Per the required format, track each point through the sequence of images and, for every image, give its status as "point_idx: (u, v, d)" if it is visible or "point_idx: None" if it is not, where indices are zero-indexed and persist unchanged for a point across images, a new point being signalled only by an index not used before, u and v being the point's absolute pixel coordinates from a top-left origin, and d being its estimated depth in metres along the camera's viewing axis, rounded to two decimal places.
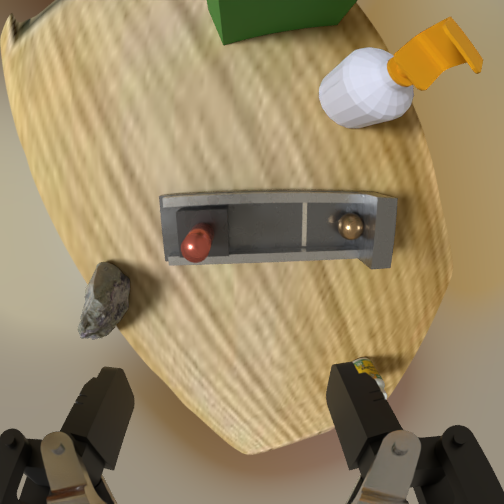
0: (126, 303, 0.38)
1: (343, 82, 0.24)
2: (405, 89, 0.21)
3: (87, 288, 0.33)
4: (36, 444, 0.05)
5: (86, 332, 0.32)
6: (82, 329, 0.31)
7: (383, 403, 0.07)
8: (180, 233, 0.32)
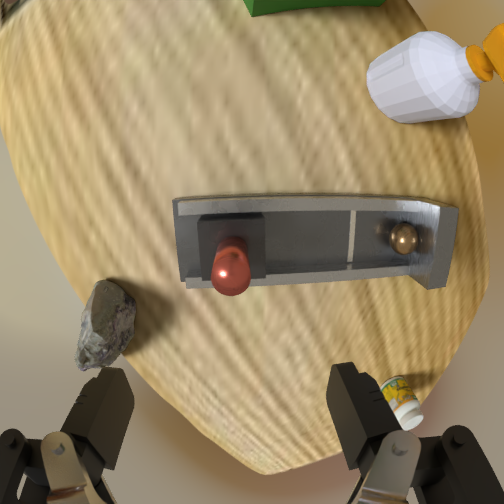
0: (131, 329, 0.31)
1: (410, 66, 0.16)
2: (477, 84, 0.14)
3: (83, 315, 0.26)
4: (36, 444, 0.05)
5: (85, 367, 0.25)
6: (80, 365, 0.24)
7: (383, 403, 0.07)
8: (203, 250, 0.25)
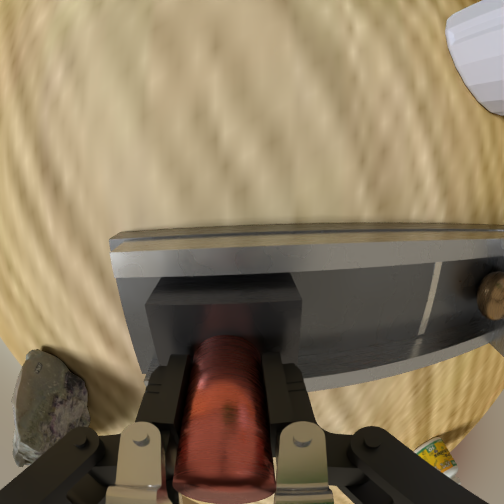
0: (85, 416, 0.17)
1: None
2: None
3: (12, 404, 0.12)
4: (108, 440, 0.06)
5: None
6: None
7: (302, 394, 0.08)
8: (165, 357, 0.11)
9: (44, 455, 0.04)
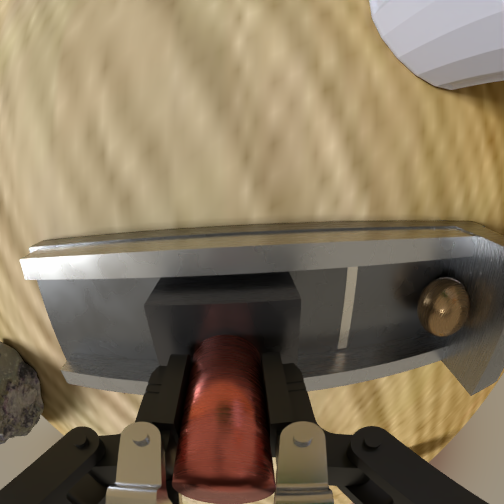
0: (38, 403, 0.17)
1: None
2: None
3: None
4: (108, 440, 0.06)
5: None
6: None
7: (303, 394, 0.08)
8: (165, 357, 0.11)
9: (44, 455, 0.04)
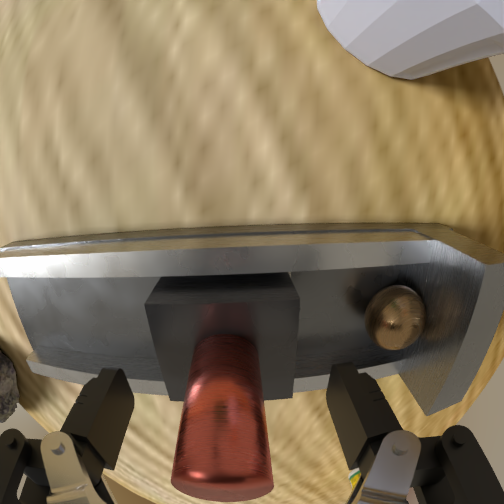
0: (14, 392, 0.17)
1: None
2: None
3: None
4: (36, 443, 0.05)
5: None
6: None
7: (383, 403, 0.07)
8: (164, 356, 0.11)
9: None
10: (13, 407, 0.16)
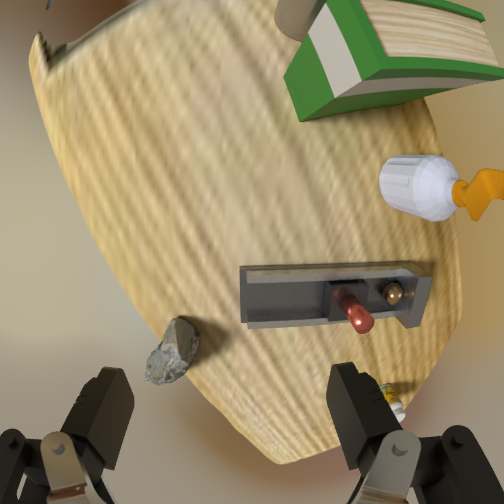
0: (195, 353, 0.44)
1: (411, 190, 0.30)
2: None
3: (167, 346, 0.38)
4: (36, 444, 0.05)
5: (163, 383, 0.37)
6: (162, 381, 0.37)
7: (383, 403, 0.07)
8: (333, 304, 0.38)
9: None
10: (191, 364, 0.43)
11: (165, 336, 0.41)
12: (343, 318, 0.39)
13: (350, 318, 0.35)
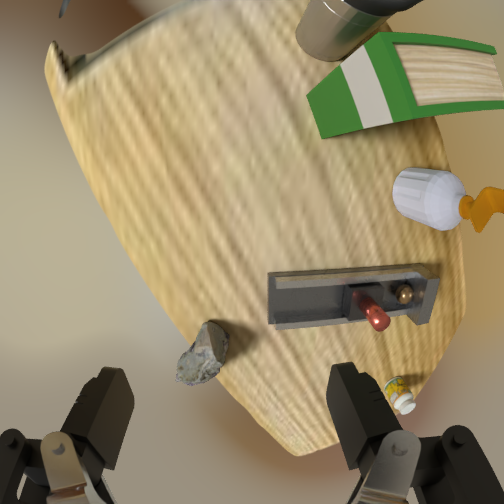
0: None
1: (423, 204, 0.33)
2: None
3: (201, 348, 0.42)
4: (36, 444, 0.05)
5: (197, 383, 0.41)
6: (196, 382, 0.40)
7: (383, 403, 0.07)
8: (352, 305, 0.42)
9: None
10: None
11: (198, 339, 0.44)
12: (361, 317, 0.43)
13: (369, 318, 0.38)
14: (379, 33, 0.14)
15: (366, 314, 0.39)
